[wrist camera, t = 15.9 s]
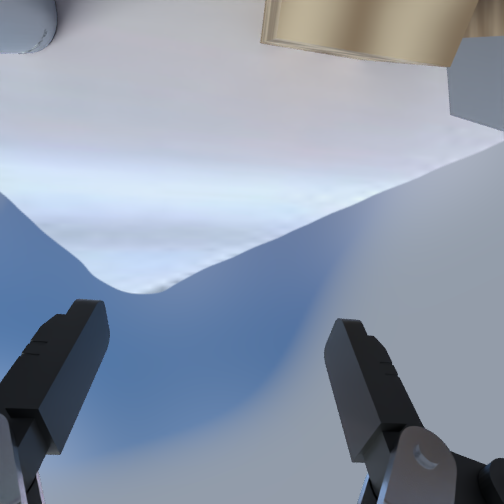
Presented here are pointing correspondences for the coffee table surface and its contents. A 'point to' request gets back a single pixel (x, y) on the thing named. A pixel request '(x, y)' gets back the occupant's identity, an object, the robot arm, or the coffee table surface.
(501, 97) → the flap
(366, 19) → the carton
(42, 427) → the robot arm
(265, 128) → the coffee table surface
